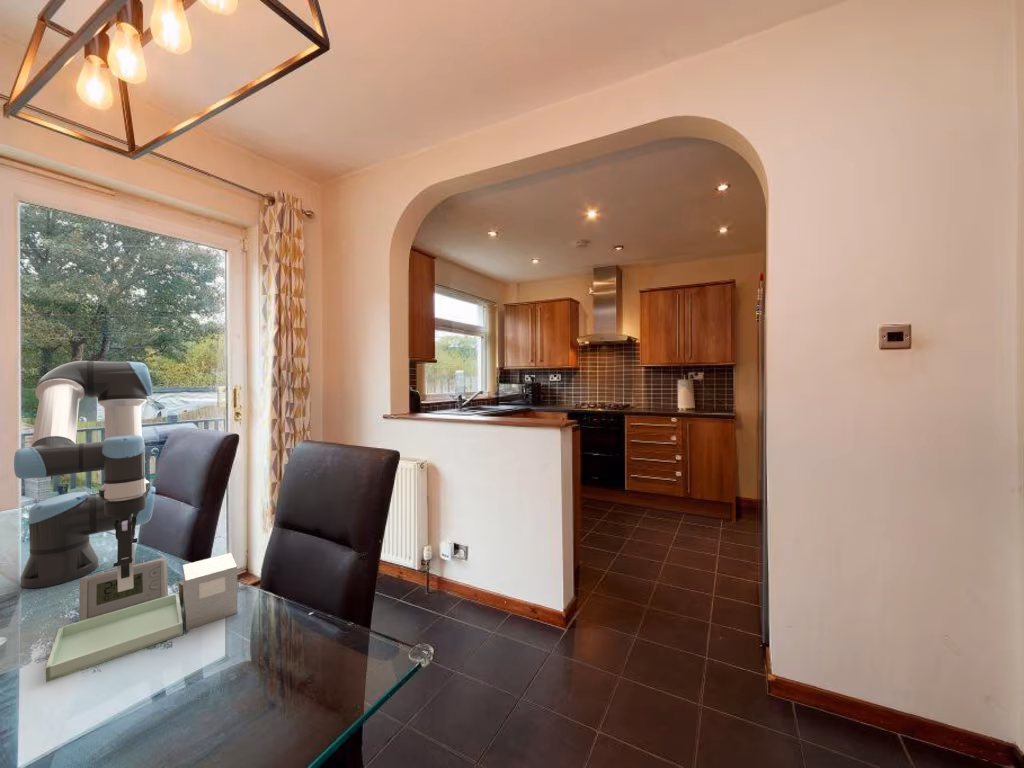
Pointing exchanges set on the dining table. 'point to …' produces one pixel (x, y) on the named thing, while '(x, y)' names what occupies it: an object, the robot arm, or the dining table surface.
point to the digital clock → (105, 598)
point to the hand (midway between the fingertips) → (126, 579)
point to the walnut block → (181, 591)
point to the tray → (114, 635)
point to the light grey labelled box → (209, 590)
